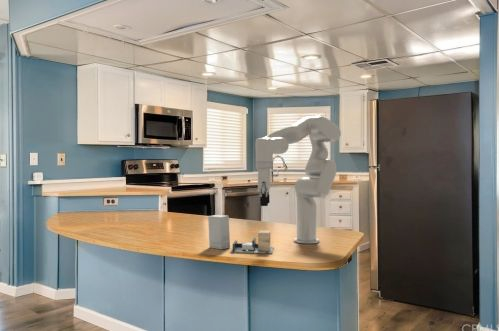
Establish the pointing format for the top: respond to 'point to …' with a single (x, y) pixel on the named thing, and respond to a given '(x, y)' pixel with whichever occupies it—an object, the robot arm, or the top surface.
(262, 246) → the beech block
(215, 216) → the skincare box
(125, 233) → the top surface
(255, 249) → the gauge base
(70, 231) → the top surface
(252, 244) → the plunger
